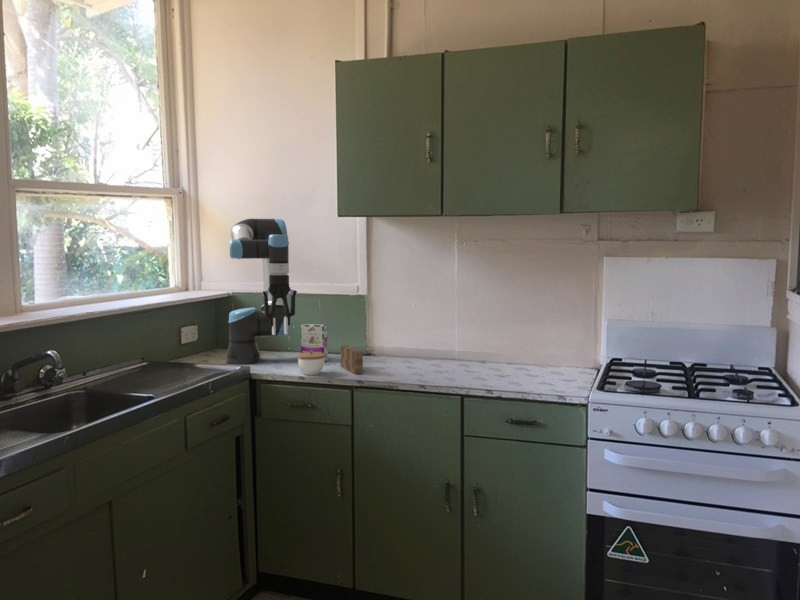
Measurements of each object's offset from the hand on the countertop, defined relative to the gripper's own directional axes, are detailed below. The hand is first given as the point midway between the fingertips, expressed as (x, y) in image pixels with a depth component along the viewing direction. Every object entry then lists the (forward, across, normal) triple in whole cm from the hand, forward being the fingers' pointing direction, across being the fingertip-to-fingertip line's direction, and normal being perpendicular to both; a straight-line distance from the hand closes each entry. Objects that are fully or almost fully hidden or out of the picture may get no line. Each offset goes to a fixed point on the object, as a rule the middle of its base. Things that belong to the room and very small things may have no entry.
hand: (280, 334), depth 253 cm
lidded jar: (+17, +12, 0) cm, 21 cm away
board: (+17, +30, 0) cm, 34 cm away
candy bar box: (+17, +22, +26) cm, 38 cm away
